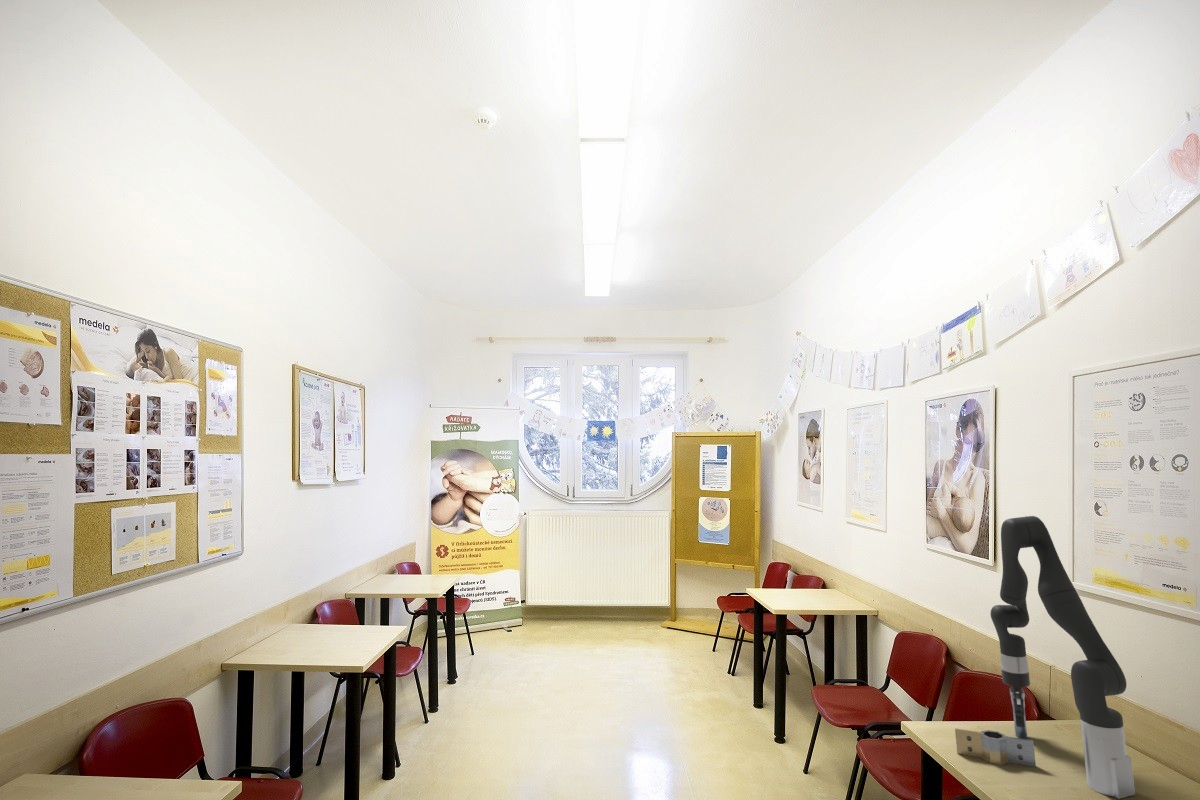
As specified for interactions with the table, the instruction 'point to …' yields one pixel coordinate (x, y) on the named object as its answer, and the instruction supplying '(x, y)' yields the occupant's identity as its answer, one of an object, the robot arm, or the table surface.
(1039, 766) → the table surface
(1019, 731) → the pin
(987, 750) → the hinge
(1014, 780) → the table surface
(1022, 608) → the robot arm
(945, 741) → the table surface
